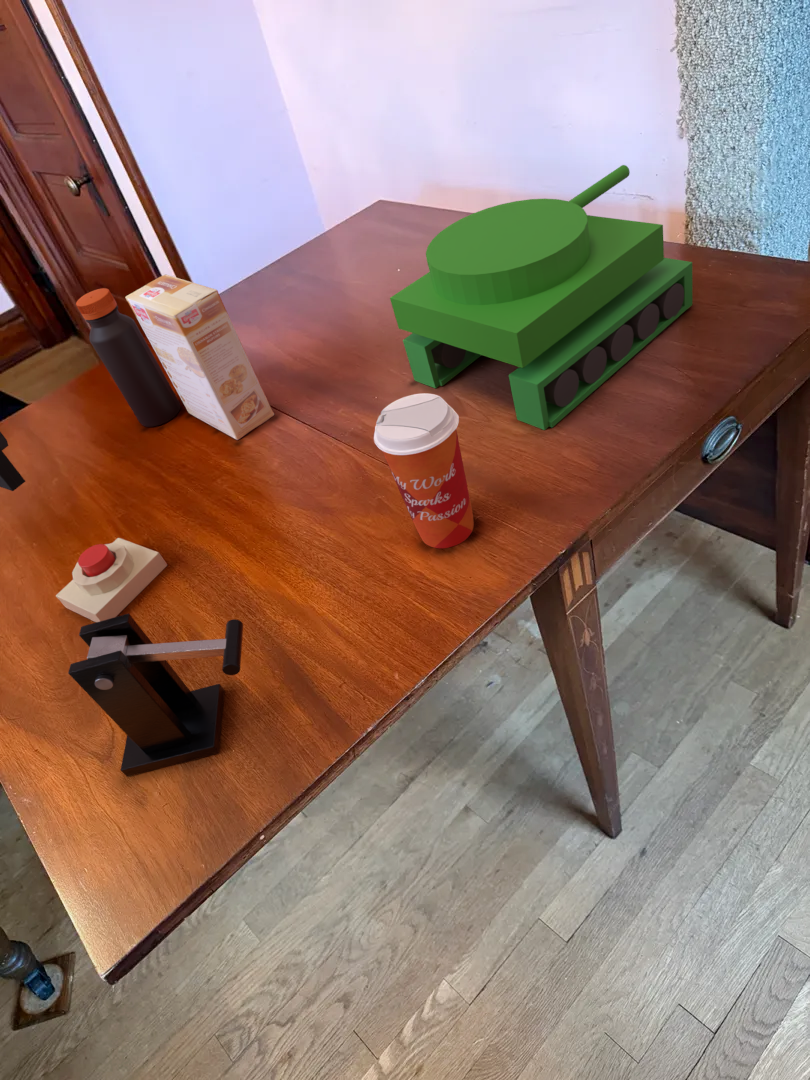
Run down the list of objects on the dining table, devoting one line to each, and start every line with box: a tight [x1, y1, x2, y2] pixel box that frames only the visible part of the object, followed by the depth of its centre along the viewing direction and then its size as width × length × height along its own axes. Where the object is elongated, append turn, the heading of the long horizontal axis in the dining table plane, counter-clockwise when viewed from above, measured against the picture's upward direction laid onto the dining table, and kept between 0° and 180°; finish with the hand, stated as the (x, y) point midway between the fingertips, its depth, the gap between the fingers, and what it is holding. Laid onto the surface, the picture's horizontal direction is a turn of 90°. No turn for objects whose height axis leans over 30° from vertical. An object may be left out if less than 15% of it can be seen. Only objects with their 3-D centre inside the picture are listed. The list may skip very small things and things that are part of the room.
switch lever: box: [86, 619, 244, 676], centre depth 62 cm, size 12×5×2 cm, turn 97°
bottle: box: [75, 287, 181, 428], centre depth 109 cm, size 7×7×20 cm
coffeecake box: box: [125, 274, 275, 441], centre depth 104 cm, size 15×7×20 cm, turn 42°
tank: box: [389, 164, 694, 431], centre depth 96 cm, size 24×35×16 cm
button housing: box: [55, 537, 168, 623], centre depth 87 cm, size 10×8×4 cm
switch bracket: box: [67, 613, 225, 778], centre depth 65 cm, size 9×7×14 cm
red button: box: [77, 543, 115, 577], centre depth 85 cm, size 4×4×2 cm
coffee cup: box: [373, 392, 475, 549], centre depth 75 cm, size 8×8×15 cm
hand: (11, 483), depth 71 cm, fingers closed
